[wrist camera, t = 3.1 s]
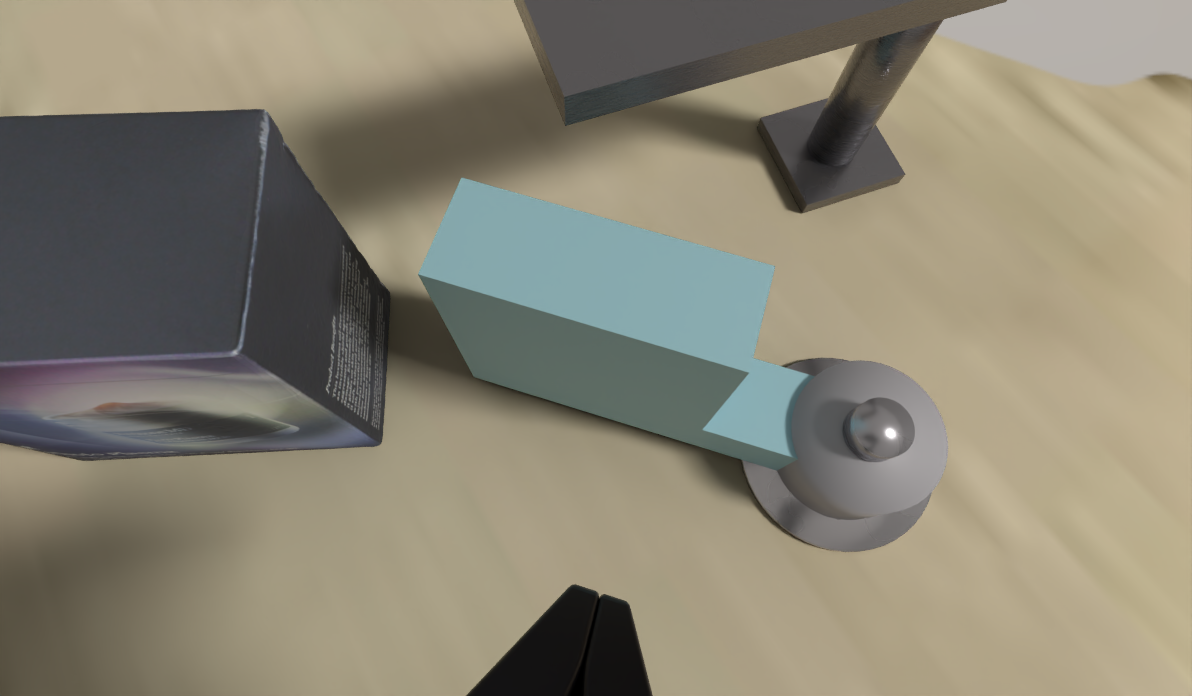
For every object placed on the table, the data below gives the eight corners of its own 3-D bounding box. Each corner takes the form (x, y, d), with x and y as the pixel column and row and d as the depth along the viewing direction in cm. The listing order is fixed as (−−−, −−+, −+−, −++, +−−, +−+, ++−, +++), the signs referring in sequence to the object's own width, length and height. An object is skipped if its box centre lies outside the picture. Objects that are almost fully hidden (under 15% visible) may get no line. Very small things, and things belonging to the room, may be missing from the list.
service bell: (790, 581, 21) (833, 583, 18) (709, 394, 23) (733, 360, 20) (968, 510, 22) (1045, 497, 19) (875, 336, 24) (927, 293, 21)
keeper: (571, 291, 25) (564, 96, 15) (532, 188, 26) (502, -52, 16) (900, 186, 26) (1093, -49, 17) (847, 96, 28) (994, -170, 18)
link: (918, 405, 23) (1091, 316, 15) (898, 538, 21) (1080, 517, 14) (509, 284, 24) (476, 145, 16) (463, 402, 23) (401, 311, 15)
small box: (73, 474, 22) (-341, 392, 12) (108, 299, 24) (-217, 108, 14) (386, 456, 22) (233, 362, 13) (393, 286, 25) (268, 91, 15)
